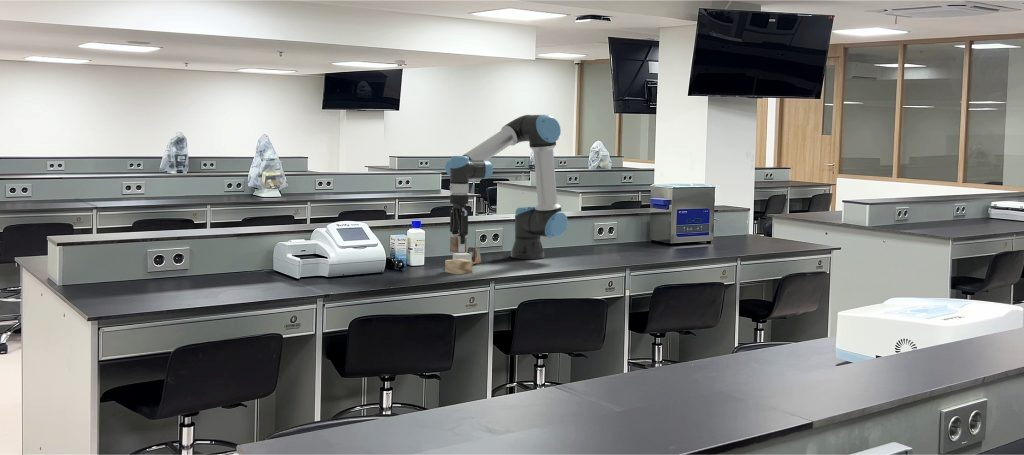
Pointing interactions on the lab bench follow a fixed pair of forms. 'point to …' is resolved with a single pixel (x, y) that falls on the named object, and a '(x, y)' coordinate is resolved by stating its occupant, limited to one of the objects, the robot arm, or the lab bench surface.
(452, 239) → the walnut block
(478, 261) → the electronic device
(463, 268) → the oak base
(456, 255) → the grey cube
